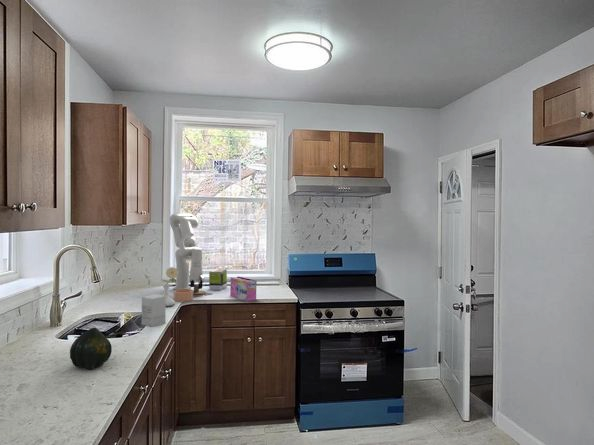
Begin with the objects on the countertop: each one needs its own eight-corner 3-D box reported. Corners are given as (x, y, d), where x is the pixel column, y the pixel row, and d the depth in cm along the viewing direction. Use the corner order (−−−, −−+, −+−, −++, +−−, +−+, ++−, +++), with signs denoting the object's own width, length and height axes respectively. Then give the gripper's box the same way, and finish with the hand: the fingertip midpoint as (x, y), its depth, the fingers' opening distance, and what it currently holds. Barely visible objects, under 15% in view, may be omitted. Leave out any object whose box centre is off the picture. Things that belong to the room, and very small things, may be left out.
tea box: (215, 286, 334) (215, 268, 334) (227, 287, 333) (227, 268, 333) (208, 289, 320) (209, 271, 319) (221, 290, 318) (221, 271, 318)
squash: (70, 363, 148) (98, 326, 155) (56, 354, 158) (83, 320, 165) (100, 380, 156) (126, 345, 163) (85, 371, 166) (109, 338, 173)
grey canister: (154, 320, 227) (154, 293, 227) (165, 323, 222) (166, 295, 222) (140, 324, 219) (141, 296, 219) (152, 327, 215) (152, 298, 214)
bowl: (170, 299, 283) (170, 290, 282) (185, 296, 292) (186, 288, 292) (180, 302, 275) (181, 293, 274) (196, 299, 284) (196, 290, 284)
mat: (179, 294, 301) (179, 293, 301) (198, 291, 314) (198, 290, 314) (193, 297, 290) (193, 296, 290) (212, 294, 303) (212, 293, 303)
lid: (182, 293, 301) (183, 285, 301) (198, 291, 312) (198, 283, 312) (193, 296, 293) (194, 287, 292) (209, 293, 303) (209, 285, 303)
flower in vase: (156, 308, 257) (156, 268, 256) (157, 304, 268) (157, 266, 267) (177, 307, 260) (178, 267, 260) (178, 303, 271) (178, 265, 271)
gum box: (228, 295, 299) (229, 277, 299) (238, 294, 304) (238, 276, 304) (247, 301, 281) (247, 281, 281) (256, 299, 286) (257, 280, 286)
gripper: (185, 264, 304) (185, 287, 305) (199, 266, 293) (199, 290, 293) (193, 263, 310) (193, 285, 310) (207, 265, 299) (207, 288, 299)
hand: (196, 287), depth 302 cm, fingers open, 9 cm apart
